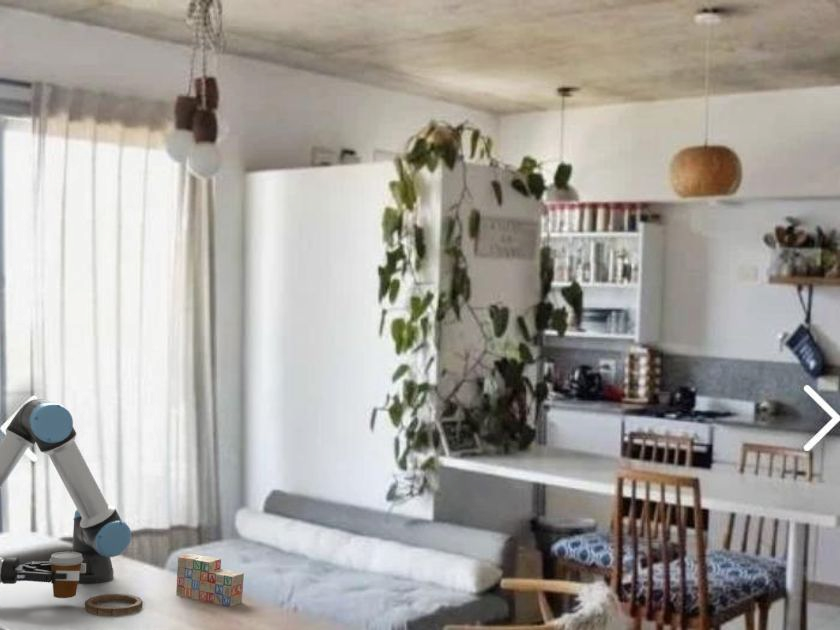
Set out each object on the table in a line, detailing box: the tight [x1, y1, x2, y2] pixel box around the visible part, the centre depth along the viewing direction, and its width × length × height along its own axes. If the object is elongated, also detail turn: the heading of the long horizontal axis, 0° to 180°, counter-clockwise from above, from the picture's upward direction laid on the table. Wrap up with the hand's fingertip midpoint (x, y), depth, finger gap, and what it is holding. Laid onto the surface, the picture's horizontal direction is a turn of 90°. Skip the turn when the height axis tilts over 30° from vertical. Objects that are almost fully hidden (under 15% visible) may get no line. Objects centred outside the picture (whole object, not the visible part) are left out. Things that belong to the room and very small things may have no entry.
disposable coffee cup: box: [49, 551, 83, 599], centre depth 308 cm, size 10×10×12 cm
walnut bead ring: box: [84, 593, 144, 617], centre depth 308 cm, size 16×16×2 cm
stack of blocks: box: [175, 553, 245, 607], centre depth 324 cm, size 21×6×12 cm, turn 62°
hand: (82, 572), depth 308 cm, fingers closed on disposable coffee cup, 8 cm apart
